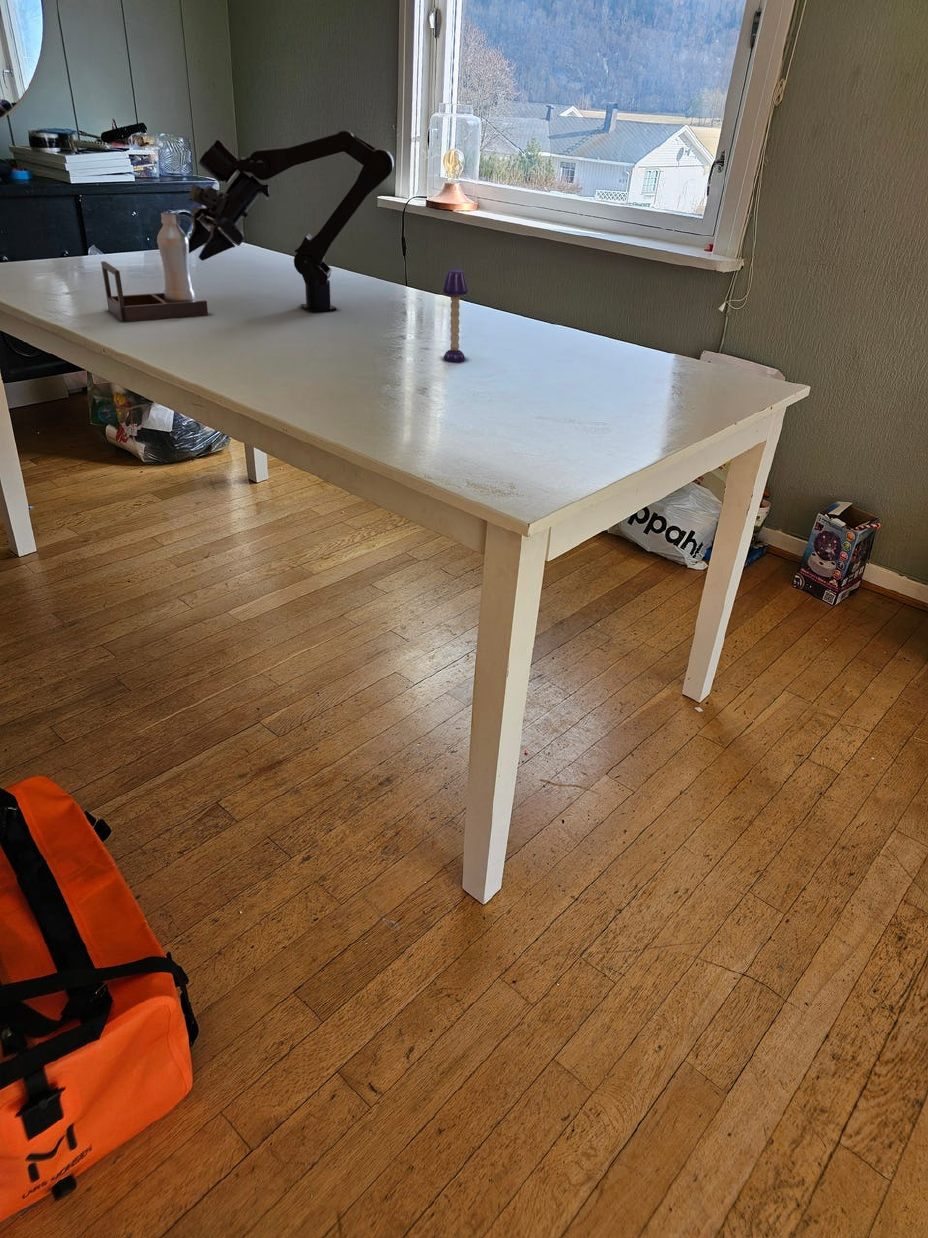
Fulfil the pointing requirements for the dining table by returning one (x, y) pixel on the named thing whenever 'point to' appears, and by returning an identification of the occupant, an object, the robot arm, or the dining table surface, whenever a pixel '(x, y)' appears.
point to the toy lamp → (455, 311)
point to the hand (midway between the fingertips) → (193, 255)
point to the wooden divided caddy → (146, 303)
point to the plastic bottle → (175, 260)
